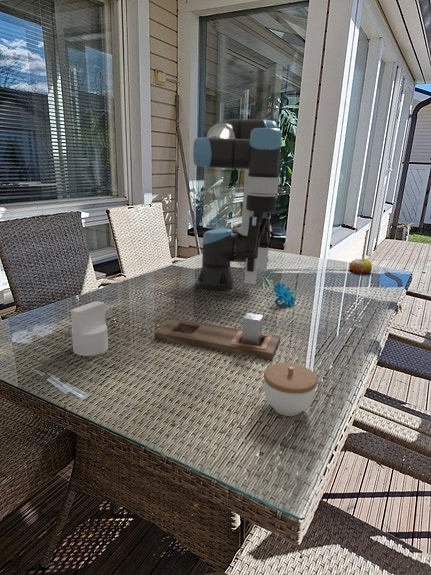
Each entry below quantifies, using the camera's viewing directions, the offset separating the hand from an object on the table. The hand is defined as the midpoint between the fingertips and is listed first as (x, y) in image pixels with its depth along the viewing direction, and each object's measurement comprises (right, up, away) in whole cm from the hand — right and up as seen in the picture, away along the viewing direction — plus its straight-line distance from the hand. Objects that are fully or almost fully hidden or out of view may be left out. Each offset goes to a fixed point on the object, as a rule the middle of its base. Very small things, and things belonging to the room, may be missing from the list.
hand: (256, 276), depth 106 cm
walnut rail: (-10, -18, +9) cm, 23 cm away
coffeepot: (+14, +11, +107) cm, 109 cm away
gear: (+15, -9, +42) cm, 46 cm away
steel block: (-1, -19, +6) cm, 20 cm away
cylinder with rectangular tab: (-44, -19, +1) cm, 48 cm away
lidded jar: (+4, -28, -22) cm, 36 cm away
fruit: (+61, +5, +93) cm, 111 cm away
